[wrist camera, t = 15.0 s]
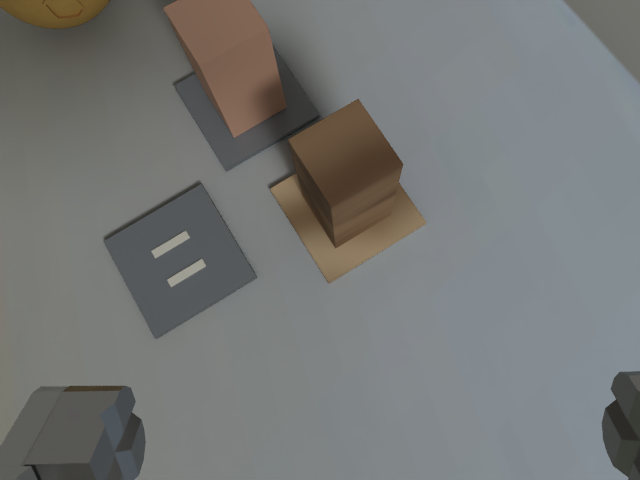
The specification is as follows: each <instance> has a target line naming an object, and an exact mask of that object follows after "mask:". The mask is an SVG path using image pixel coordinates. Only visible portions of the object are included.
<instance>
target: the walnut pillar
mask: <svg viewBox="0 0 640 480" xmlns="http://www.w3.org/2000/svg"><path fill="white" fill-rule="evenodd" d="M288 142H289V146H290V149H291V153H292V157H293V161H294V165H295V169H296V173H297V177H298V180H299V184H300V188H301V192H302V196H303V198H304V199H305V201H306V202H307V204H308V206H309V207H310V209H311V210H312V212H313V214H314V215H315V217H316V218H317V220H318V222H319V223H320V225H321V226H322V228H323V229H324V231H325V233H326V234H327V236H328V237H329V239H330V241H331V242H332V244H333V245H334V247H335V249H336V248H338V247H339V246H341V245H343V244H344V243H346V242H348V241H349V240H351V239H353V238H354V237H356V236H358V235H359V234H361V233H363V232H364V231H366V230H368V229H369V228H371V227H373V226H374V225H376V224H377V223H379V222H381V221H382V220H384V219H386V218H387V217H389V216H391V212H392V208H393V203H394V199H395V195H396V191H397V187H398V183H399V179H400V175H401V171H402V167H403V163H402V162H401V160H400V159H399V157H398V156H397V154H396V153H395V151H394V150H393V148H392V147H391V146H390V144H389V143H388V141H387V140H386V138H385V137H384V135H383V134H382V132H381V131H380V130H379V128H378V127H377V125H376V124H375V122H374V121H373V119H372V118H371V116H370V115H369V114H368V112H367V111H366V109H365V108H364V106H363V105H362V103H361V102H360V101H359V99H357V100H355V101H354V102H352V103H350V104H348V105H347V106H345V107H343V108H341V109H340V110H338V111H336V112H335V113H333V114H331V115H329V116H328V117H326V118H324V119H323V120H321V121H319V122H317V123H316V124H314V125H312V126H310V127H309V128H307V129H305V130H304V131H302V132H300V133H298V134H297V135H295V136H293V137H291V138H290V139H288Z"/></svg>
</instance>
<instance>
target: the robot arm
mask: <svg viewBox="0 0 640 480" xmlns="http://www.w3.org/2000/svg"><path fill="white" fill-rule="evenodd" d="M611 390H612V392H613V394H614V396H615V398H616V400H615V401H614V402H612V403H611V404H610V405H609V406H608V407H606V408H605V412H604V416H603V420H602V431H603V441H604V444H605V448H606V451H607V454H608V456H609V458H610V460H611V462H612V464H613V466H614V467H615V468H617V469H618V470H619V471H621V472H622V473H623V474H625V475H626V476H627V477H629V479H628V480H640V371H633V372H619V373H618V374H617V375H616V376H615V378H614V380H613V383H612V387H611ZM135 402H136V401H135V398H134V395H133V392H132V390H131V387H127V386H69V387H44V386H41V387H40V388H38V389H37V390H36V391H34V392H33V393H32V395H31V396H30V398H29V400H28V401H27V403H26V405H25V406H24V408H23V410H22V411H21V413H20V415H19V416H18V418H17V420H16V421H15V423H14V425H13V426H12V428H11V430H10V431H9V433H8V435H7V436H6V438H5V440H4V442H3V443H2V445H1V447H0V480H134V479H135V478H136V477H138V476H139V473H140V470H141V467H142V464H143V460H144V452H145V443H146V442H145V431H144V427H143V423H142V420H141V419H140V418H139V417H137V416H136V415H135V414H134V413H132V410H133V407H134V405H135Z"/></svg>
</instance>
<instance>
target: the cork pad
mask: <svg viewBox="0 0 640 480" xmlns="http://www.w3.org/2000/svg"><path fill="white" fill-rule="evenodd" d="M270 191H271V192H272V194H273V195H274V197H275V199H276V200H277V202H278V203H279V205H280V207H281V208H282V210H283V211H284V213H285V215H286V216H287V218H288V219H289V221H290V223H291V224H292V226H293V227H294V229H295V231H296V232H297V234H298V235H299V237H300V239H301V240H302V242H303V243H304V245H305V247H306V248H307V250H308V251H309V253H310V255H311V256H312V258H313V259H314V261H315V263H316V264H317V266H318V267H319V269H320V270H321V272H322V274H323V275H324V277H325V278H326V280H327V282H328V283H331V282H332V281H334V280H336V279H337V278H339V277H341V276H342V275H344V274H345V273H347V272H349V271H350V270H352V269H354V268H355V267H357V266H358V265H360V264H362V263H363V262H365V261H366V260H368V259H370V258H371V257H373V256H375V255H376V254H378V253H379V252H381V251H383V250H384V249H386V248H388V247H389V246H391V245H392V244H394V243H396V242H397V241H399V240H401V239H402V238H404V237H405V236H407V235H409V234H410V233H412V232H414V231H415V230H417V229H418V228H420V227H422V226H423V225H425V224H426V221H425V220H424V218H423V217H422V215H421V214H420V212H419V211H418V210H417V208H416V207H415V205H414V204H413V202H412V201H411V199H410V198H409V196H408V195H407V194H406V192H405V191H404V189H403V188H402V186H401V185H400V183H398V187H397V191H396V195H395V199H394V203H393V208H392V212H391V216H389V217H387V218H386V219H384V220H382V221H381V222H379V223H377V224H376V225H374V226H373V227H371V228H369V229H368V230H366V231H364V232H363V233H361V234H359V235H358V236H356V237H354V238H353V239H351V240H349V241H348V242H346V243H344V244H343V245H341V246H339V247H338V248H336V249H335V247H334V245H333V244H332V242H331V241H330V239H329V237H328V236H327V234H326V233H325V231H324V229H323V228H322V226H321V225H320V223H319V222H318V220H317V218H316V217H315V215H314V214H313V212H312V210H311V209H310V207H309V206H308V204H307V202H306V201H305V199H304V198H303V196H302V192H301V188H300V184H299V180H298V177H297V173H296V174H294V175H292V176H291V177H289V178H287V179H286V180H284V181H282V182H281V183H279V184H277V185H276V186H274V187H272V188H270Z"/></svg>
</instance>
